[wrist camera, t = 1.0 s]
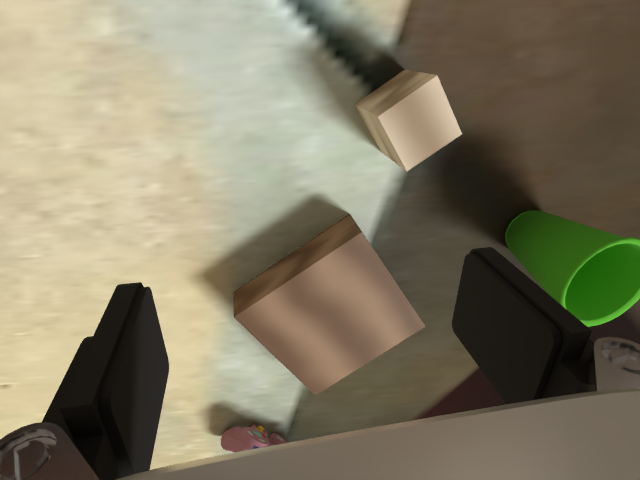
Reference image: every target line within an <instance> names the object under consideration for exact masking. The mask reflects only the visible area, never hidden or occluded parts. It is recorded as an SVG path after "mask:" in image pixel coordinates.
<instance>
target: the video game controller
mask: <svg viewBox="0 0 640 480" xmlns="http://www.w3.org/2000/svg"><path fill="white" fill-rule="evenodd" d="M267 435H268V433H267V432H266V431H265V430H264V428H263V427H262V426H260V425H259V426H258V425H255V424H253V425H252V426H251V427H232V428H230V429H228V430H226V431H225V432H224V433H223V435H222V438H221V446H222V448H223V449H225V450H228V451H232V452H240V451H246V450H251V449H257V448H262V447H268V446H273V445H279V444H285V443H290V442H288V441H287V440H286V439H285V438H284V437H282V436H281V435H279V434H277V433H272V434H271V436H270V438H269V440H268V438H267Z"/></svg>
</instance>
